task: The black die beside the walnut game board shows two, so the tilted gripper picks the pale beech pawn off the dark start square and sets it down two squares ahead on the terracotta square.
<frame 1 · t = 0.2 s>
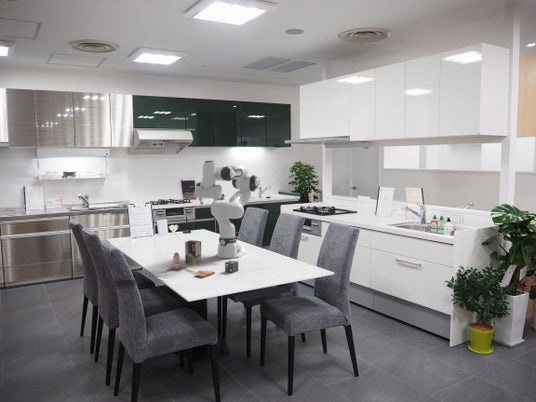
hand: (207, 205, 304), 40 cm above the table, tool pointing down, fingers open, 8 cm apart
coffee box: (193, 265, 302), on the table
pawn: (176, 268, 287), point 1 cm above the table, touching game board
game board: (189, 272, 282), on the table
die: (231, 271, 286), on the table
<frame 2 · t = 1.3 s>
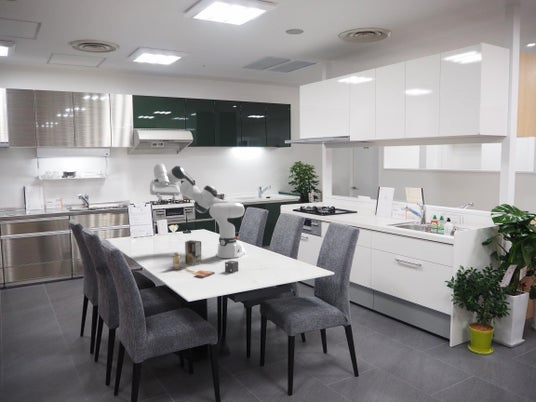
hand: (167, 199, 302), 43 cm above the table, tool tilted 45°, fingers open, 8 cm apart
nothing on the table moved.
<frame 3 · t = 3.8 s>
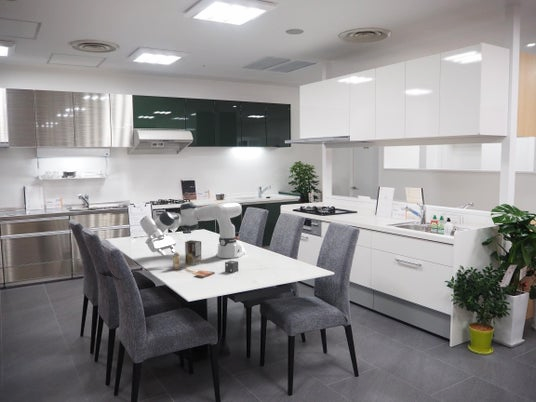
hand: (169, 253, 288), 10 cm above the table, tool tilted 45°, fingers open, 8 cm apart
nothing on the table moved.
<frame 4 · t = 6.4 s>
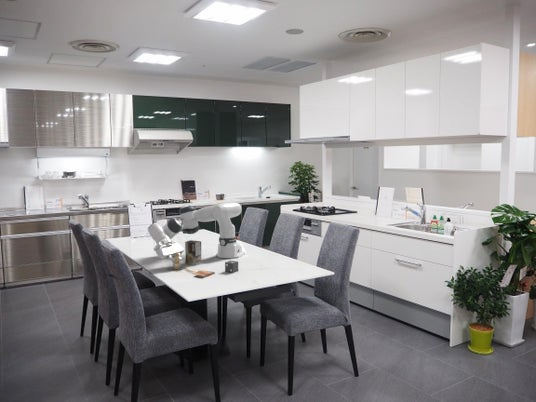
hand: (177, 260, 286), 7 cm above the table, tool tilted 45°, fingers closed on pawn, 4 cm apart
pawn: (176, 268, 287), point 1 cm above the table, touching game board, gripper
everything else where it was.
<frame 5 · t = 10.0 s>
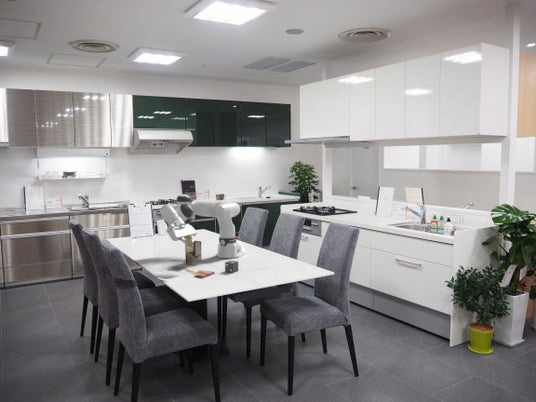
hand: (190, 243, 278), 19 cm above the table, tool tilted 45°, fingers closed on pawn, 4 cm apart
pawn: (189, 251, 279), point 14 cm above the table, touching gripper
everything else where it was.
when the fingers open (8 cm above the table, at t = 13.7 s): pawn drops 1 cm, resting on game board.
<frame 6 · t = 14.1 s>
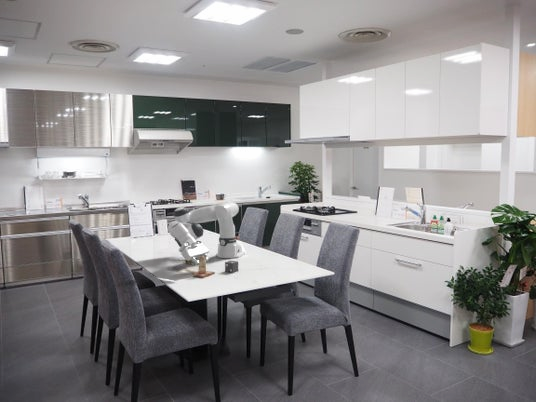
hand: (203, 262, 276), 8 cm above the table, tool tilted 45°, fingers open, 8 cm apart
pawn: (202, 272, 277), point 1 cm above the table, touching game board
everything else where it was.
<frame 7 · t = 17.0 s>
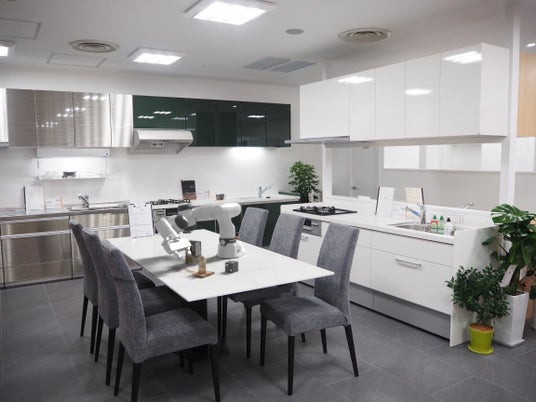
hand: (185, 255, 282), 10 cm above the table, tool tilted 45°, fingers open, 8 cm apart
nothing on the table moved.
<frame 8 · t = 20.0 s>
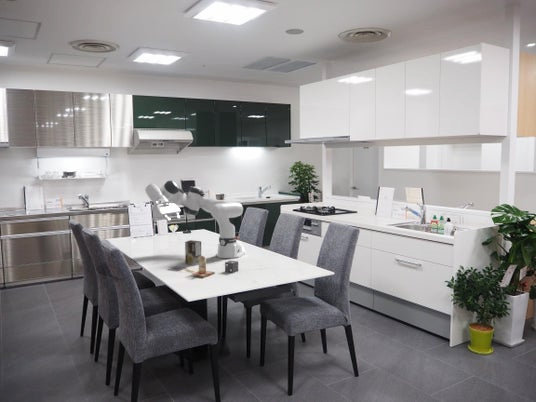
hand: (174, 219, 292), 31 cm above the table, tool tilted 45°, fingers open, 8 cm apart
nothing on the table moved.
at the end: pawn inside the target area (0.0 cm from its centre), point 1.3 cm above the table; pawn tilted 2°; the gripper is holding nothing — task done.
